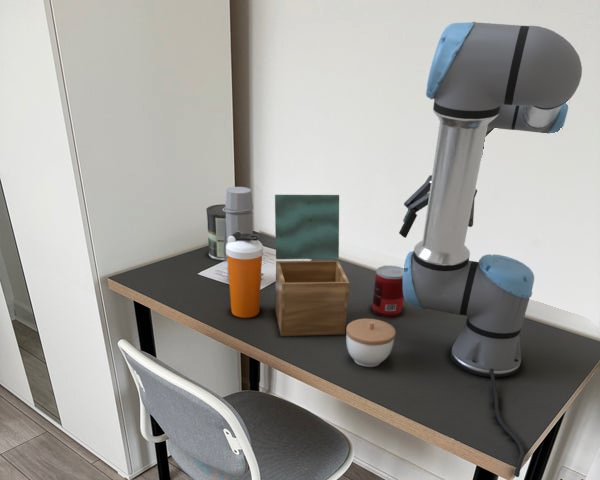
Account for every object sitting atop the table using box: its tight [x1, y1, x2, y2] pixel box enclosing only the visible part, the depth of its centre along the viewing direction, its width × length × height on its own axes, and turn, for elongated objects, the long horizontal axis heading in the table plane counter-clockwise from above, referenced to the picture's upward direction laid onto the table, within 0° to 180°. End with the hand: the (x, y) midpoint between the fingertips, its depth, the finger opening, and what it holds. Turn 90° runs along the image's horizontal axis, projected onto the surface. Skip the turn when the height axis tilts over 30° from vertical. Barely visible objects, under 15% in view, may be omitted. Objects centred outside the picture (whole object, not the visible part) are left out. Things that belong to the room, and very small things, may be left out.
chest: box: [274, 260, 351, 337], centre depth 143 cm, size 14×16×13 cm
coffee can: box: [205, 203, 227, 261], centre depth 179 cm, size 10×10×14 cm
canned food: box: [371, 265, 405, 317], centre depth 151 cm, size 8×8×11 cm
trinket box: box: [345, 318, 397, 368], centre depth 129 cm, size 11×11×9 cm
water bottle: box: [223, 186, 254, 281], centre depth 160 cm, size 9×8×25 cm
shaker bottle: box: [226, 231, 264, 319], centre depth 144 cm, size 9×9×20 cm
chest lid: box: [274, 194, 340, 260], centre depth 143 cm, size 15×16×1 cm
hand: (422, 242), depth 150 cm, fingers open, 13 cm apart
